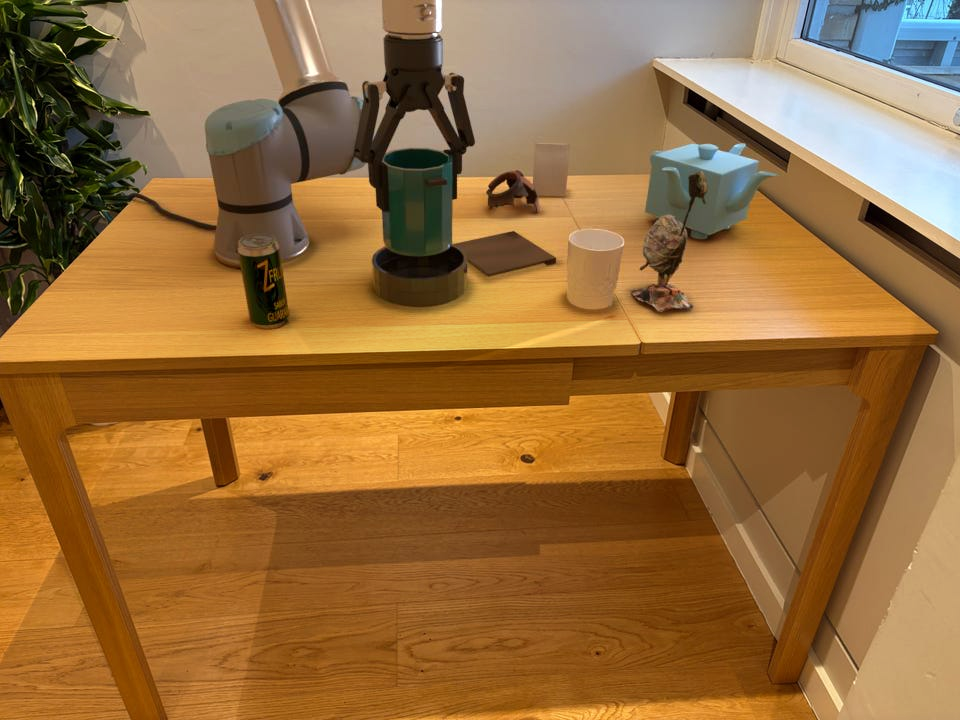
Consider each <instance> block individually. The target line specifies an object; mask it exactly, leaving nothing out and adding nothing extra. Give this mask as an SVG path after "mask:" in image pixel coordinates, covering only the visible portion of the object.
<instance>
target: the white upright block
mask: <svg viewBox="0 0 960 720" xmlns="http://www.w3.org/2000/svg"><path fill="white" fill-rule="evenodd" d="M569 158H570V143H549V142H534V155H533V169H532V171H533V172H532V184H533V186H534V189H535V190H536V192H537V196H538V197H557V198H558V197H560V198H561V197H562V198H566V197H567V188H568V187H567V186H568V176H569V160H570V159H569Z"/></svg>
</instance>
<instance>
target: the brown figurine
mask: <svg viewBox="0 0 960 720" xmlns="http://www.w3.org/2000/svg"><path fill="white" fill-rule="evenodd" d="M688 179H689V196H690V197H691V199H690V202H689V209H688V212H687V214H686V217H685V219H684V223H683V224H681V222H680V221H678V220H677V219H676V218H675V217H674V216H673V215H669V214H667V215H664V216H661V218H659V217H658V220H656V221H655V223H653V225H651V227H650V229H649V230H648V232H647V234H646V236H645V238H644V241H643V242H644V243H643V246H642V254H643V257H644V258H645V260H646V261H645V263H644V264H643V265H641V266H640V267H639V271H643V270H644V269H646V268H647V267H649V268H651V269H652V270H654V271H655V272H657V273H658V274H657V284H655V283H653V284H649V285H647V287H646V288H638V289H633V290H630V294H631V295H633V296H634V297H635V298H634V299H637V300H638V301H639V302H640V301H641V302H643V303H647V305H650V306H652V307H653V308H655V310H656V312H659V313H662V312H664V311H668V310H669V309H670V310H671V309H680V310H682V309H685V308H686V309H688V310H692V309H693V308H694V305H693V304H692V303H690V301H689V300H688V297H687V295H686V294H685V293H684V292H682V291H681V289H680V288H679V287H677V286H676V285H674V284H671V283H669V282H670V280H671V279H672V276H674V274H675V273H676V271H677V270H678V269H679V268H680V265H681V264H682V262H683V256H684V252H685V250H686V246H687V242H688V230H686V227H685V224H686V221H687V218H688V214H689V212H690V210H691V207H692V205H693V202H694V199H695V198H696V197H699V199H700V198H702V202H703V203H704V204H706V202H705V197H704V196H705V194H706V193H707V191H708V185H707V184H706V178H705V177H704V173H703V172H702V171H699V172H697V173H694V174H691V175H690V176H688ZM672 212H673V211H672ZM673 213H676V212H673Z"/></svg>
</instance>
